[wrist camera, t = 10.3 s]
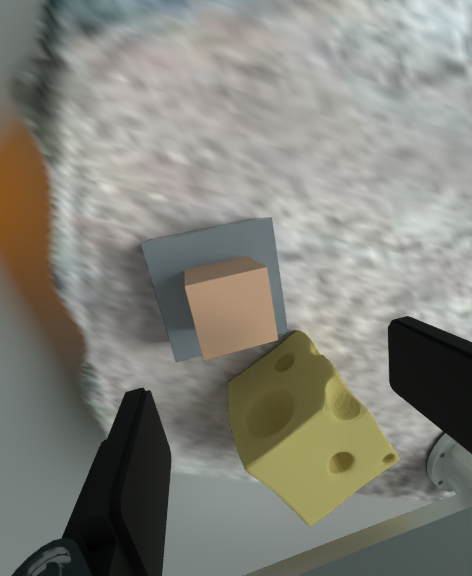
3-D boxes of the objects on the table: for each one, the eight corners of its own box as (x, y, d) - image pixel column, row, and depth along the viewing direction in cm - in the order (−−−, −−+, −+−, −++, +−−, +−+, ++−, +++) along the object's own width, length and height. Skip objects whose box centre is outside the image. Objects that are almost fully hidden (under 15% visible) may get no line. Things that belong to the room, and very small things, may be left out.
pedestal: (272, 315, 26) (287, 331, 22) (177, 340, 25) (176, 362, 21) (257, 217, 23) (271, 217, 19) (148, 240, 22) (140, 243, 18)
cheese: (297, 326, 27) (358, 382, 18) (339, 389, 31) (409, 464, 21) (219, 383, 27) (239, 470, 18) (270, 440, 30) (310, 538, 21)
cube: (247, 256, 20) (266, 267, 15) (257, 313, 21) (278, 339, 16) (184, 270, 19) (184, 286, 14) (199, 328, 21) (204, 360, 16)
